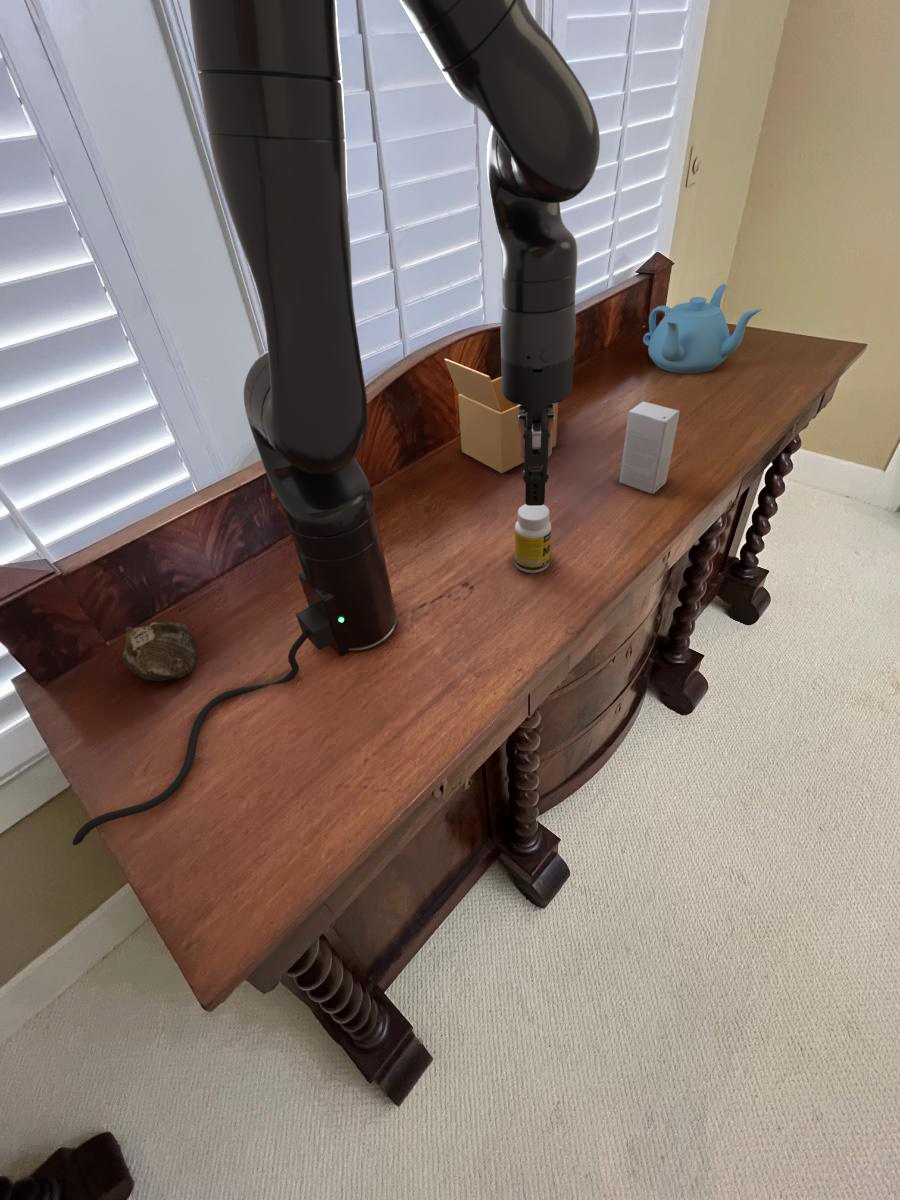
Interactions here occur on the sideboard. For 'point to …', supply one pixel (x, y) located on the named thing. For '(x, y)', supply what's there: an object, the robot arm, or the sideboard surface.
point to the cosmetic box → (648, 446)
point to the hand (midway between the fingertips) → (534, 483)
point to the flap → (473, 384)
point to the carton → (493, 430)
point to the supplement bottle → (532, 538)
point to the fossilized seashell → (160, 651)
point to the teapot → (693, 335)
